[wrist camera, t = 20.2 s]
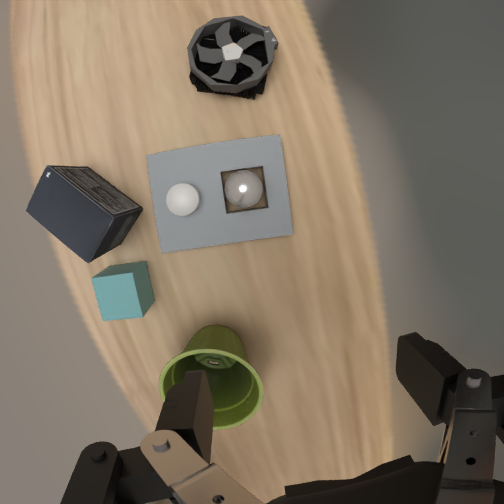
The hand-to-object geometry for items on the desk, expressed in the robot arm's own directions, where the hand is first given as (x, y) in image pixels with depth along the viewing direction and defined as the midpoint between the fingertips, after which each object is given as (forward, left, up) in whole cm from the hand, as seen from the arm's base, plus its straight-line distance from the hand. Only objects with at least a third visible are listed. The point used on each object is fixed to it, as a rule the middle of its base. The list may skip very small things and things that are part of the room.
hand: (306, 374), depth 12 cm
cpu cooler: (+24, 0, -30) cm, 39 cm away
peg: (+7, +1, -30) cm, 31 cm away
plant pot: (-14, +8, -30) cm, 34 cm away
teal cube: (-3, +18, -30) cm, 35 cm away
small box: (+8, +20, -30) cm, 37 cm away
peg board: (+7, +4, -30) cm, 31 cm away
